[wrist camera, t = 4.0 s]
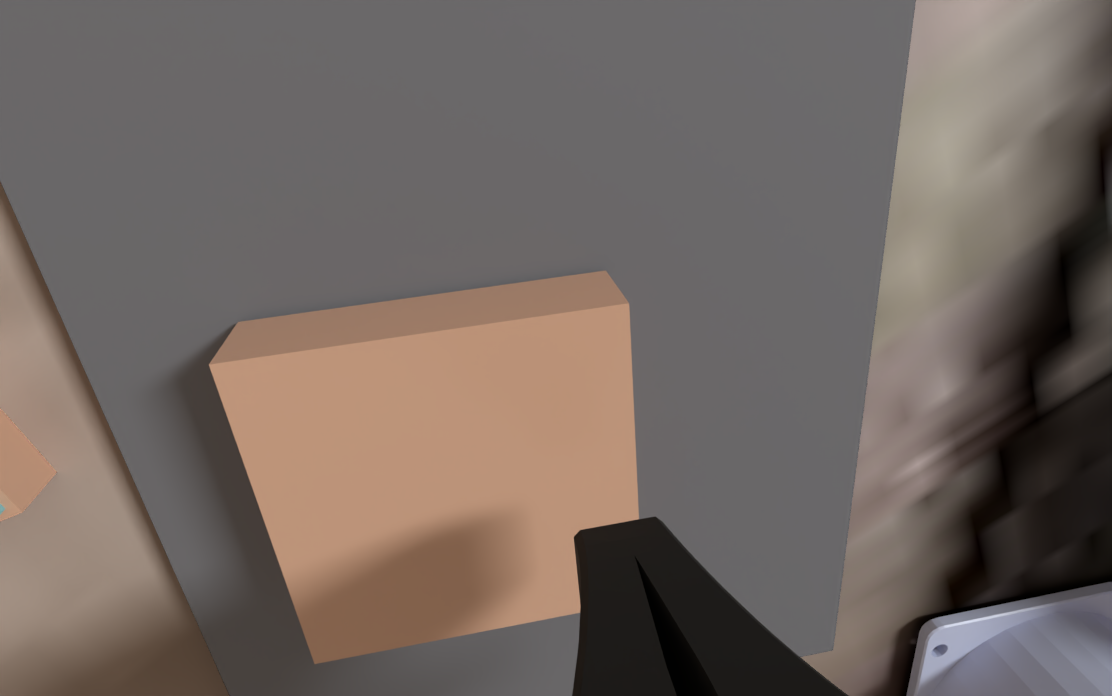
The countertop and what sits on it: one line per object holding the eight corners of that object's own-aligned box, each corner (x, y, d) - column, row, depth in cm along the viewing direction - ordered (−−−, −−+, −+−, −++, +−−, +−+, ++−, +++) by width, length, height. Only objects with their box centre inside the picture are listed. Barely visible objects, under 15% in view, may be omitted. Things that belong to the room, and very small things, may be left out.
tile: (642, 600, 15) (314, 664, 14) (621, 540, 16) (328, 594, 16) (629, 303, 12) (208, 364, 11) (604, 267, 13) (240, 319, 13)
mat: (822, 633, 20) (832, 650, 19) (267, 747, 18) (262, 769, 18) (920, -217, 11) (944, -229, 11) (-118, -148, 10) (-151, -159, 9)
